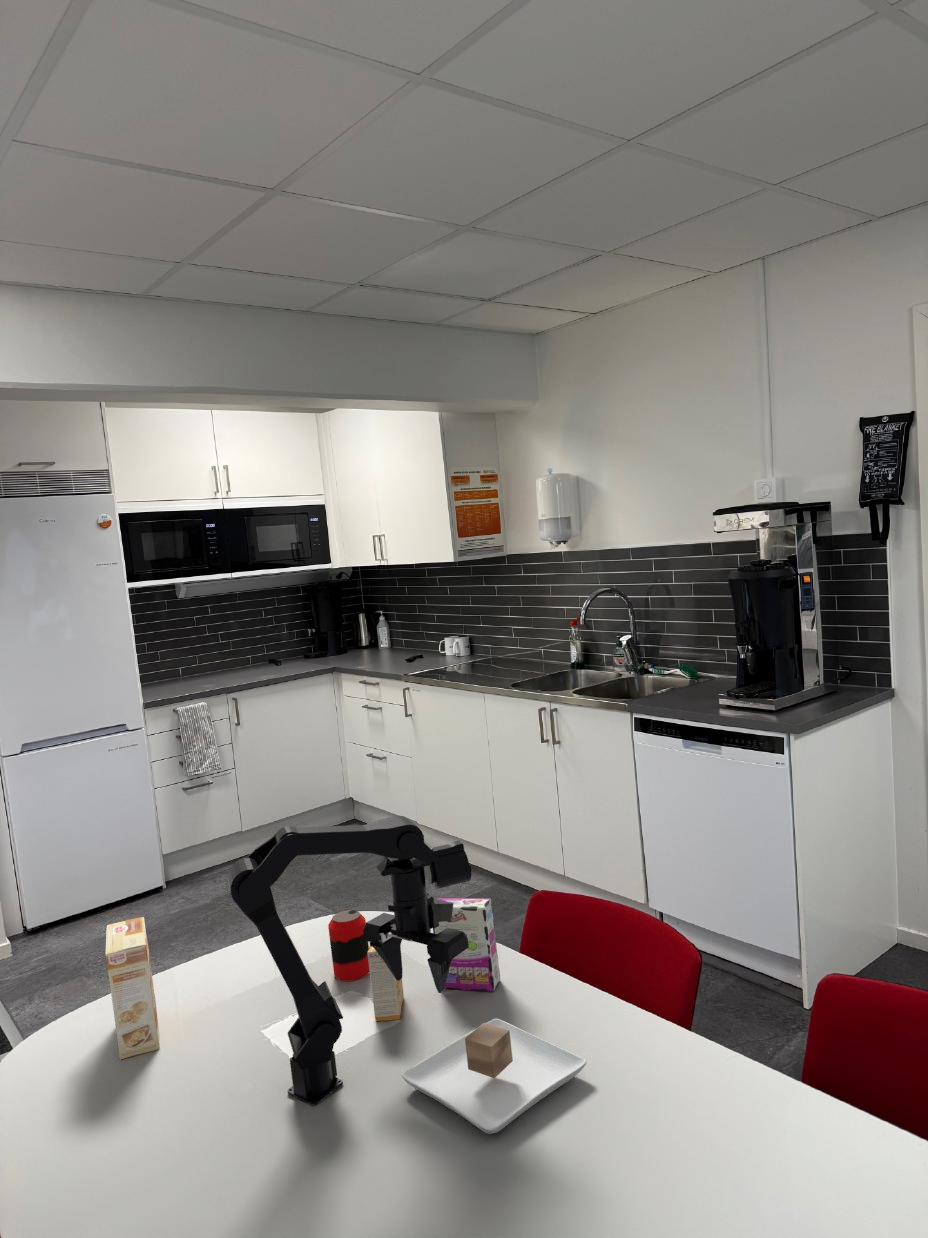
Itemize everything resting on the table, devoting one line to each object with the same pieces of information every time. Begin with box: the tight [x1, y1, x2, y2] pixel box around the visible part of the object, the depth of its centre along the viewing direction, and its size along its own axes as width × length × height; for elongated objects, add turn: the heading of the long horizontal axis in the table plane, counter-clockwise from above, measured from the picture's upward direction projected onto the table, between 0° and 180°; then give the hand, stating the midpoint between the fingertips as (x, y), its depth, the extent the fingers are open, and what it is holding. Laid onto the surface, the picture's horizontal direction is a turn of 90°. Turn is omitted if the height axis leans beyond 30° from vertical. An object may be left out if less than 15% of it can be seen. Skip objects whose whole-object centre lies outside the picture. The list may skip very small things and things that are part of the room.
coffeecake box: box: [105, 916, 161, 1061], centre depth 160 cm, size 15×7×20 cm, turn 22°
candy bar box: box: [432, 897, 501, 992], centre depth 166 cm, size 11×5×16 cm, turn 73°
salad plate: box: [401, 1018, 587, 1135], centre depth 134 cm, size 21×21×3 cm
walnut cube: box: [465, 1022, 513, 1078], centre depth 134 cm, size 5×5×5 cm
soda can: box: [327, 909, 370, 982], centre depth 176 cm, size 8×8×12 cm
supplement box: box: [367, 945, 404, 1022], centre depth 160 cm, size 8×5×13 cm, turn 179°
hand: (420, 985), depth 143 cm, fingers open, 9 cm apart
